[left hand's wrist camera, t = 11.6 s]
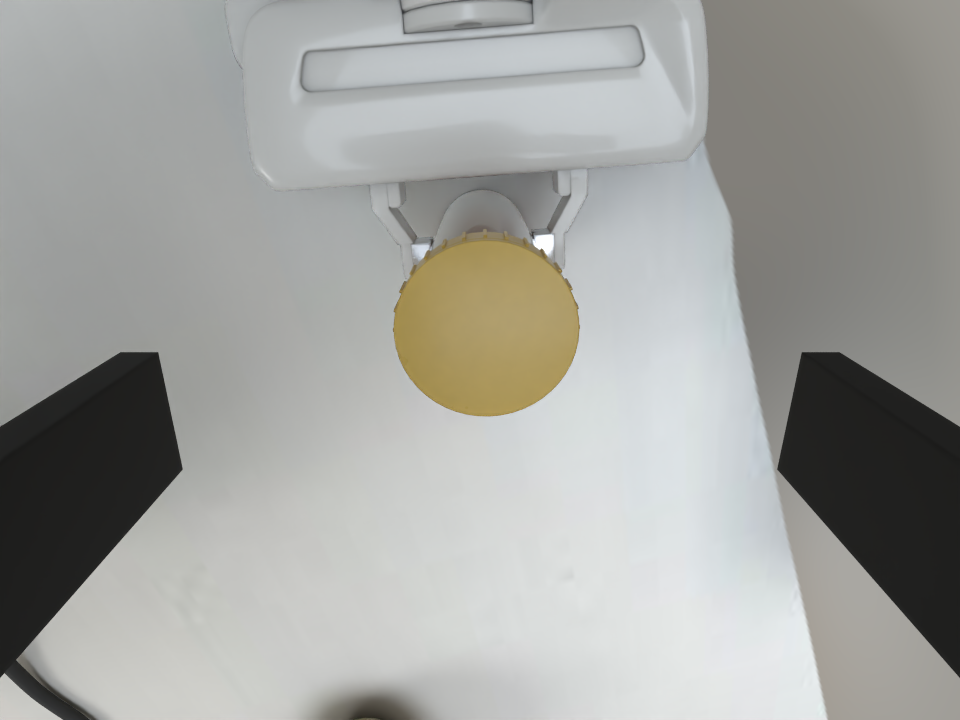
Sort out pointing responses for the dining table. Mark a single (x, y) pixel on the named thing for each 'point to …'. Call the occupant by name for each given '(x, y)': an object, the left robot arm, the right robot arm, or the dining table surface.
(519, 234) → the bottle
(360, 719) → the fruit
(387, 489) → the dining table surface
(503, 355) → the lid
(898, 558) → the left robot arm
